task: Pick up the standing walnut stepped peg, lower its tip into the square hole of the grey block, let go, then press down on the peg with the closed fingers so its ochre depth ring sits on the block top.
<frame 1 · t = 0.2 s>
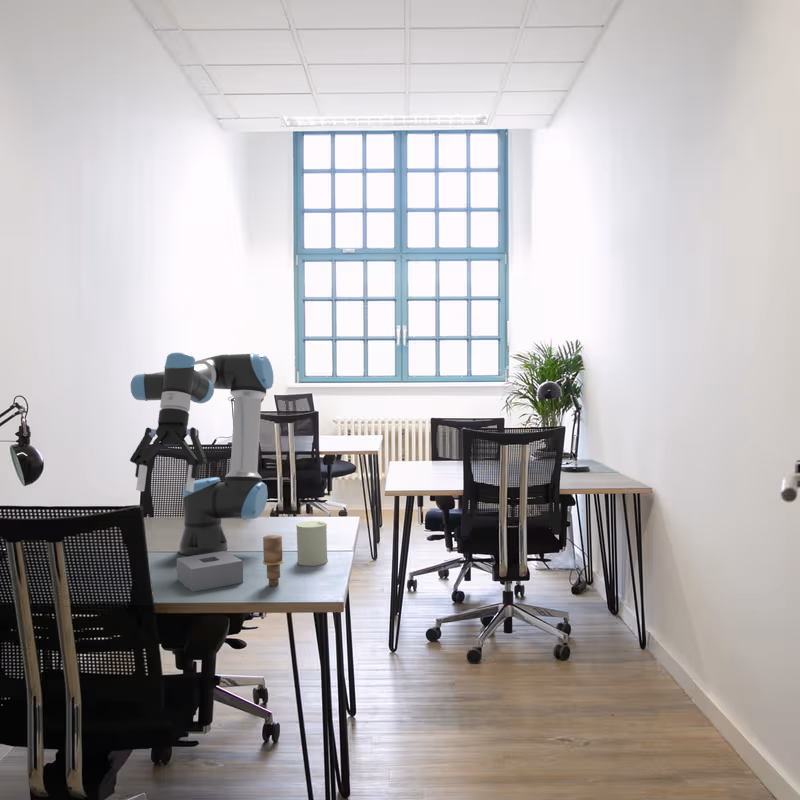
hand: (164, 491, 188), 28 cm above the table, fingers open, 13 cm apart
walnut peg: (273, 584, 199), on the table
socket block: (209, 581, 204), on the table
can: (312, 562, 222), on the table
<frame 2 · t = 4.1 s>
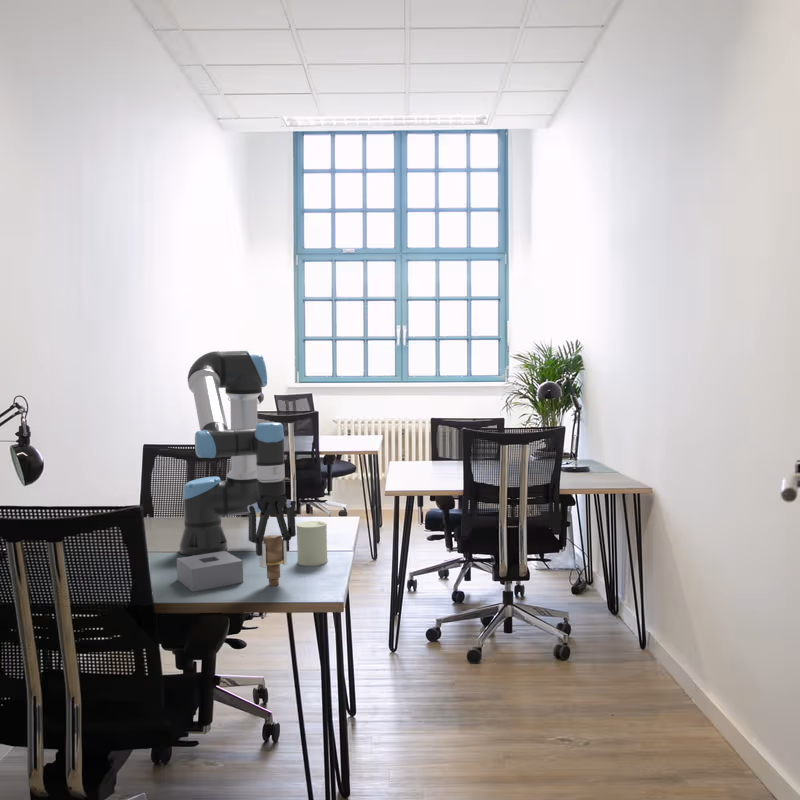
hand: (273, 565, 199), 5 cm above the table, fingers closed on walnut peg, 5 cm apart
walnut peg: (273, 584, 199), on the table, touching gripper
everything else where it was.
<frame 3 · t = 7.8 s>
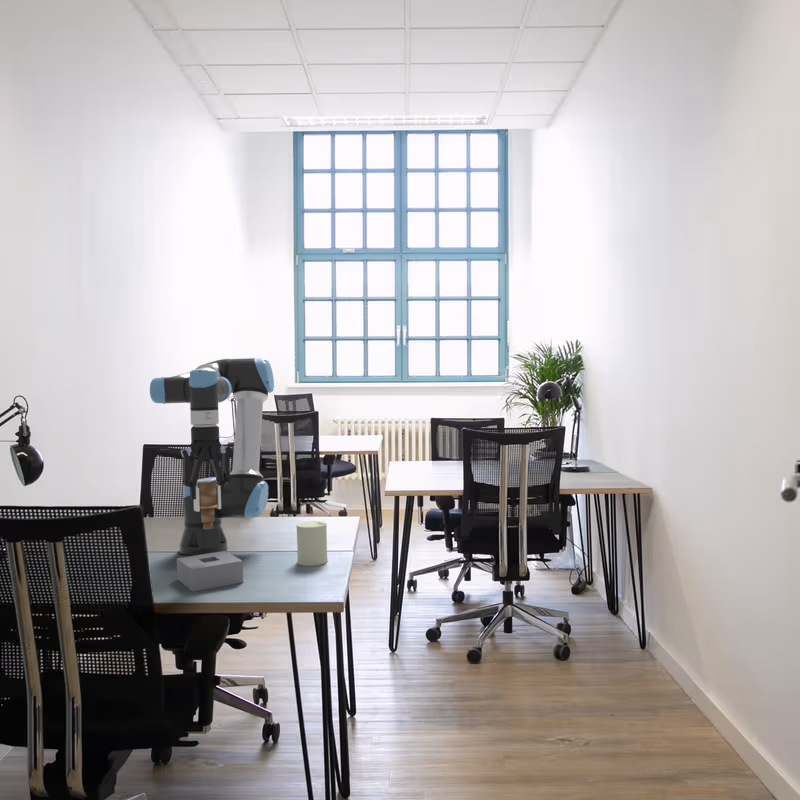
hand: (207, 509, 203), 20 cm above the table, fingers closed on walnut peg, 5 cm apart
walnut peg: (208, 528, 203), point 15 cm above the table, touching gripper
everything else where it was.
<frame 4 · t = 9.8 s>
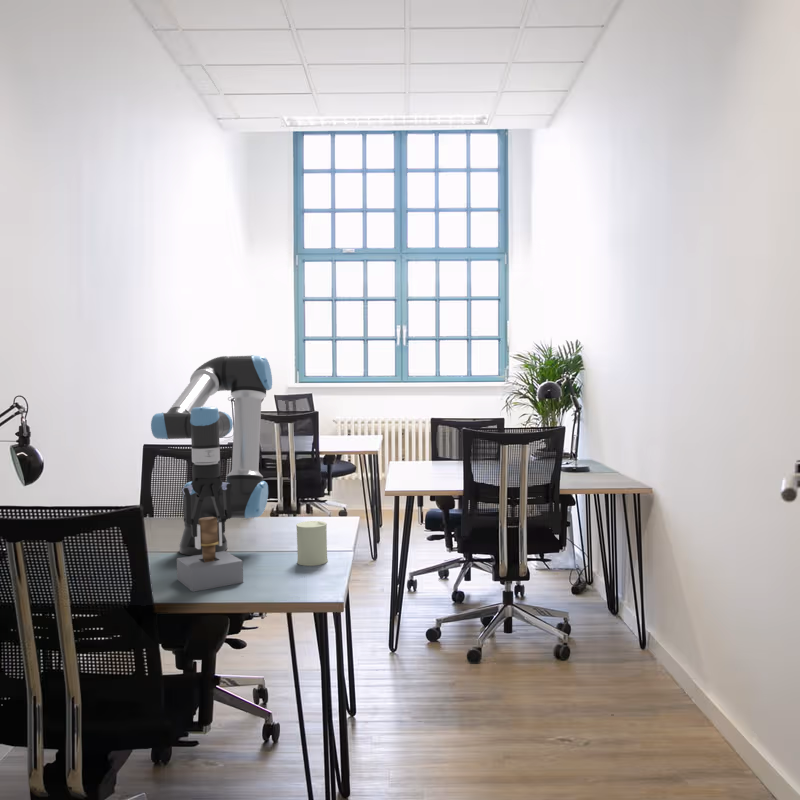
hand: (208, 546, 203), 10 cm above the table, fingers closed on walnut peg, 5 cm apart
walnut peg: (209, 565, 203), point 4 cm above the table, touching gripper
everything else where it was.
when the fingers open (8 cm above the table, at t = 11.4 s): walnut peg drops 2 cm, resting on socket block.
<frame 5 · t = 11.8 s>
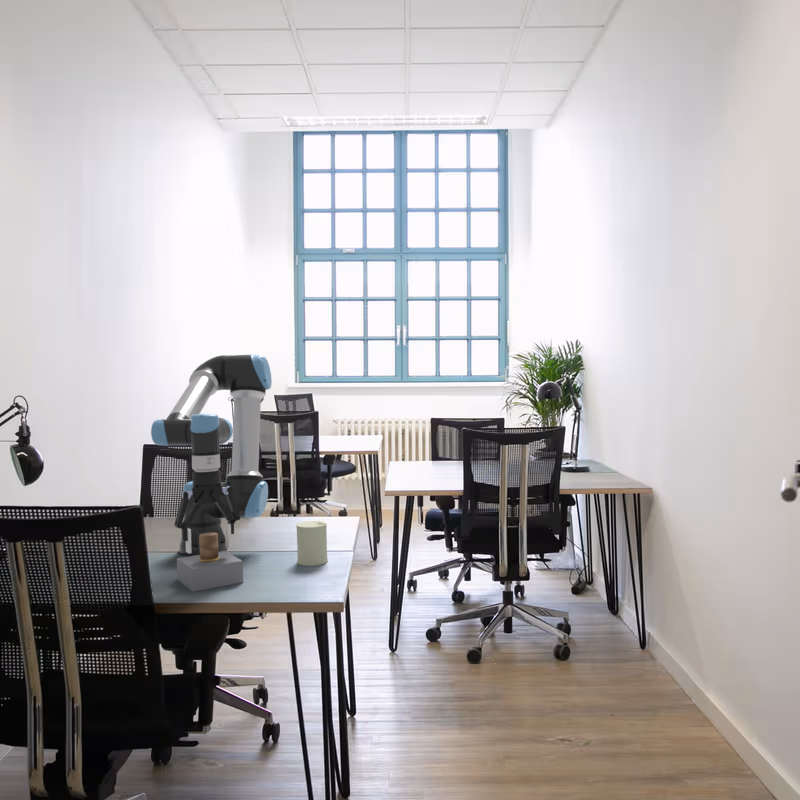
hand: (208, 549, 203), 9 cm above the table, fingers open, 10 cm apart
walnut peg: (210, 581, 204), resting on socket block
everything else where it was.
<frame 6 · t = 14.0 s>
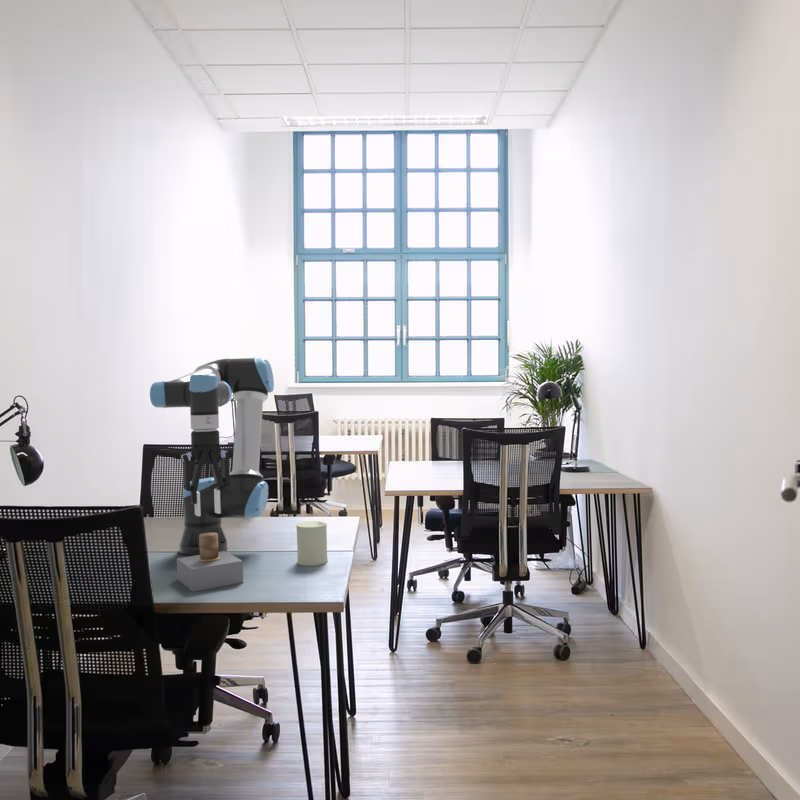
hand: (207, 513, 203), 19 cm above the table, fingers open, 5 cm apart
nothing on the table moved.
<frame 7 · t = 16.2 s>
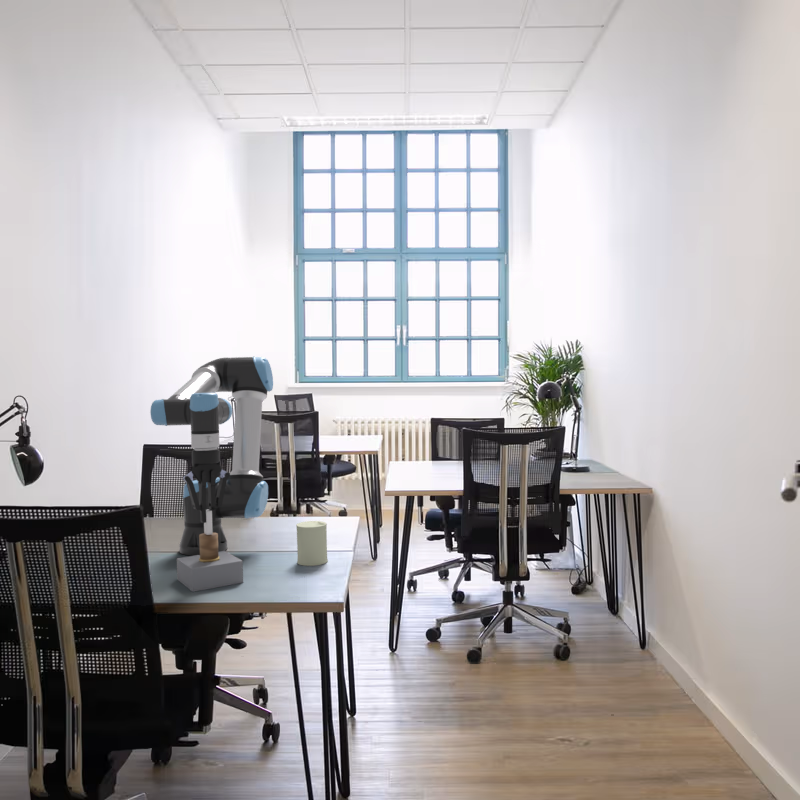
hand: (208, 533, 203), 13 cm above the table, fingers closed
walnut peg: (210, 581, 204), resting on socket block, touching gripper
everything else where it was.
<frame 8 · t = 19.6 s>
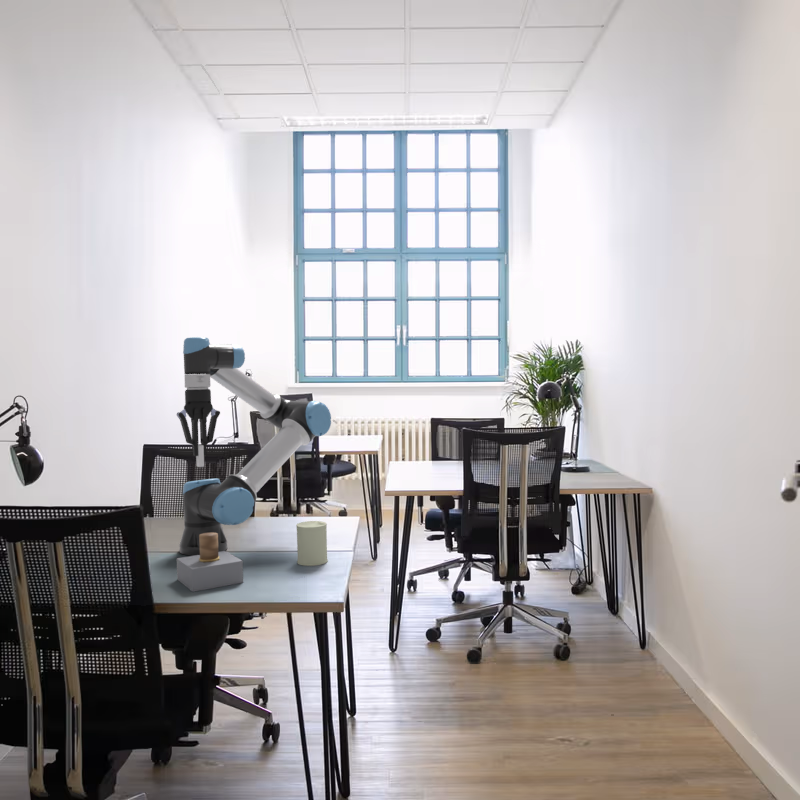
hand: (200, 466, 223), 29 cm above the table, fingers closed
walnut peg: (210, 581, 204), resting on socket block
everything else where it was.
at the end: walnut peg 0.0 cm off-centre on the socket block, point 0.0 cm above the socket block's base; walnut peg tilted 0°; the gripper is holding nothing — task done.
